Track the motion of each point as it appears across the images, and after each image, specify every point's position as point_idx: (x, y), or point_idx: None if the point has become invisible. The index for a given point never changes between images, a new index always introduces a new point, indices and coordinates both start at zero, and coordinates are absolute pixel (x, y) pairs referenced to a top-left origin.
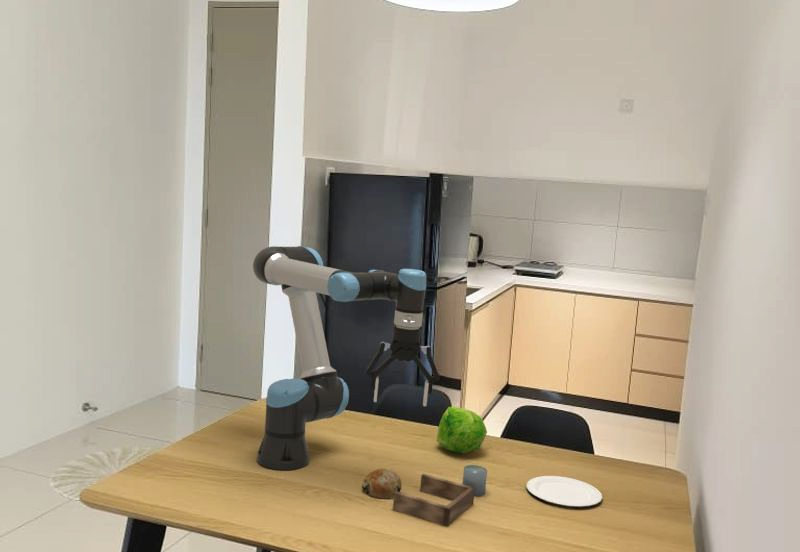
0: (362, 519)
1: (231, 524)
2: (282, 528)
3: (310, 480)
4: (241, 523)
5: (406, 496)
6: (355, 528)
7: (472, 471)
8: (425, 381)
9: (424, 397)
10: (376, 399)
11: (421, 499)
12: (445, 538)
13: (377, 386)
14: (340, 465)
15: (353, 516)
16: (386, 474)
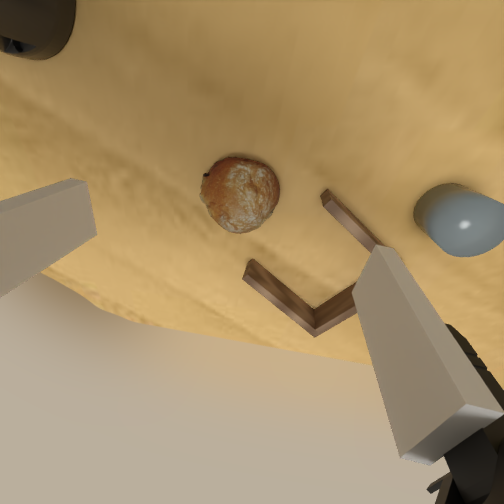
0: (200, 282)
1: (50, 271)
2: (107, 288)
3: (105, 125)
4: (60, 270)
5: (260, 293)
6: (190, 301)
7: (452, 242)
8: (440, 417)
9: (364, 330)
10: (84, 242)
11: (282, 306)
12: (298, 339)
13: (7, 289)
14: (157, 8)
15: (188, 273)
16: (236, 222)
